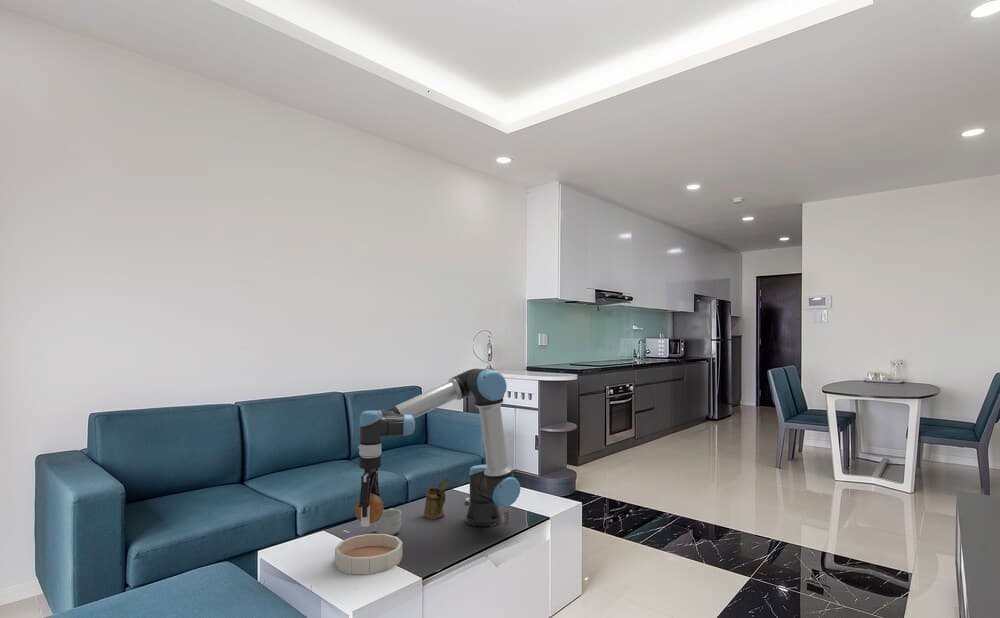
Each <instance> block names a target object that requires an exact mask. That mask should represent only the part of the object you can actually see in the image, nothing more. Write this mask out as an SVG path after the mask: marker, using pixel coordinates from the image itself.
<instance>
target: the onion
mask: <svg viewBox="0 0 1000 618" xmlns="http://www.w3.org/2000/svg"><path fill="white" fill-rule="evenodd" d="M359 504H360V497H358V500H357V501H356V503H355V506H354V513H355V517H356V519H357V520H358V521H359V522H361V507H359ZM369 506H370V522H369V525H370V524H374V522H376V521H378V520H379V519H380V517H381V516H382V514H383V510H384V502H383V501H382V499H381V497H380V496H377V495H375V494H372V493H370V500H369Z"/></svg>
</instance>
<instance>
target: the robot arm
mask: <svg viewBox="0 0 1000 618" xmlns="http://www.w3.org/2000/svg"><path fill="white" fill-rule="evenodd" d="M507 389H508V388H507V382H506V378H505V377H504V376H503V374H502V373H501V372H499V371H497V370H494V369H490V368H489V369H488V368H471V369H468V370H466V371H463V372H461V373H459V374H456V375H454V376H452V377H450V378H449V379H448V381H447V382H446V383H442V384H440V385H439V386H437V387H434V388H433V389H432V388H431V389H430V390H428V391H425V392H423V393H421V394H419V395H416V396H414V397H412V398H410V399H408V400H405V401H403V402H401V403H399V404H396V405H394V406H392V407H389V408H387V409H380V410H376V409H375V410H374V409H373V410H364V411H362V412H361V413H360V417H359V445H358V446H357V449H359V450H358V451H359V452H358V454H359V458H358V467H359V468H360V469H362V470H364V472H363V474H362V475H361V477H360V479H361V481H360V482H361V484H360V494H359V498H360V504H359V507H361V521H360V527H362V528H363V527H365V528H366V527H370V524H369V522H370V506H369V500H370V493H372V494H375V495H377V496H378V497H380V496H381V493H380V486H379V469H380V467H382V456H381V455H382V443H383V442H382V438H388V437H389V438H390V437H393V438H394V437H401V436H404V437H405V436H410V435H412V434H414V432H415V427H416V421H415V419H416V418H418V417H421V416H422V415H424V414H426V413H429V412H431V411H434V410H435V409H437V408H440V407H441V406H444V405H446V404H448V403H451V402H452V401H454V400H457V401H461V400H462V399H466V398H470V397H471V398H473V402H474V407H475V408H477V409H478V411H479V418H480V426H481V432H482V434H481V435H482V441H483V446H484V447H483V449H484V455H485V461H486V462H485V463H486V464H479V465H478V464H477V465H473V466H471V467H470V469H469V475H468V476H469V497H470V503H469V502H468V506H467V509H466V513H465V523H466V524H467V525H469V526H471V525H472V526H473V527H476V526H479V527H480V526H489V527H492V526H491V525H494V524H497V523H499V522H500V521H501V522H502V513H501V510H500V506H501V507H510V506H511V505H514V503H516V501H517V499H518V498H519V496H520V493H521V484H520V482H519V481H518V479H517V478H515V476H514V469H513V467H512V466H511V465H510V464H509V460H508V454H507V446H506V439H505V431H504V423H503V417H502V408H501V406H502V404H503V403H504V397H505V393H506V391H507ZM499 524H500V523H499ZM497 525H498V524H497ZM494 526H495V525H494ZM479 527H478V528H479ZM480 528H481V527H480Z"/></svg>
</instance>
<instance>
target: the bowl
mask: <svg viewBox="0 0 1000 618" xmlns="http://www.w3.org/2000/svg"><path fill="white" fill-rule="evenodd" d="M402 558H403V541H402V540H401V539H400V538H399V537H398V536H395V535H387V534H378V533H366V534H361V535H354V536H351V537H350V538H349V537H348V538H347V539H344V540H342V541H340V542H339V543H338V544H337V545H336V546H335V548H334V566H335V567H336V569H337V570H338V571H340V572H343V573H346V574H349V575H371V574H377V573H381V571H382V572H386V571H388V570H391V569H393V568H394V567H396V566H398V565H399V564H400V563H401V560H402Z"/></svg>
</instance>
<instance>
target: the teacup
mask: <svg viewBox="0 0 1000 618" xmlns="http://www.w3.org/2000/svg"><path fill="white" fill-rule="evenodd" d="M373 526H374V531H375V533H376V534H387V535H391V536H395V535H396V534H397V533H398V532H399V531H400V530H401V528H402V511H401V510H399V509H394V508H393V507H391V508H388V509H383V514H382V516H381V517H380V519H379V520H378V521H376V522H374V523H373Z"/></svg>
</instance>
